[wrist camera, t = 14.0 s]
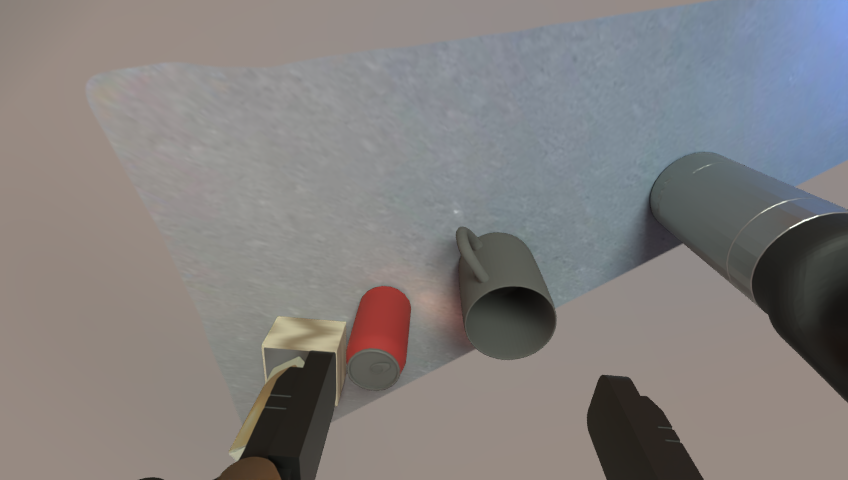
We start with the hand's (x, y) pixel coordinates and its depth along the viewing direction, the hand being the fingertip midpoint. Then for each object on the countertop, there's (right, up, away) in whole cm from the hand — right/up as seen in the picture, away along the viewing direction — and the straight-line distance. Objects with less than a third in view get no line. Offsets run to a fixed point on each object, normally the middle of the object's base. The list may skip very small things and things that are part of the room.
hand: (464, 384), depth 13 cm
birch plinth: (-16, -10, +45) cm, 49 cm away
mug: (+6, +3, +39) cm, 39 cm away
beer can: (-6, -4, +42) cm, 43 cm away
